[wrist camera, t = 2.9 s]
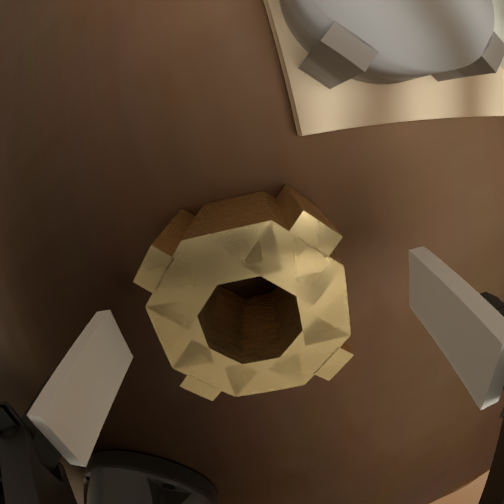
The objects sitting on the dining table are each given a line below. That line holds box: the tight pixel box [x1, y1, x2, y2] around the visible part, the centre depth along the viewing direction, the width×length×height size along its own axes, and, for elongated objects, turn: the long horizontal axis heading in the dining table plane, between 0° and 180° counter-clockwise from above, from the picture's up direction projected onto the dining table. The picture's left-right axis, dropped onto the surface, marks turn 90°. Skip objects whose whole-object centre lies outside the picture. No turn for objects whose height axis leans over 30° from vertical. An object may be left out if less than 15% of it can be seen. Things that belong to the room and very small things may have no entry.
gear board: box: [263, 0, 504, 136], centre depth 9 cm, size 22×13×9 cm, turn 103°
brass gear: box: [133, 184, 354, 401], centre depth 16 cm, size 8×8×6 cm
